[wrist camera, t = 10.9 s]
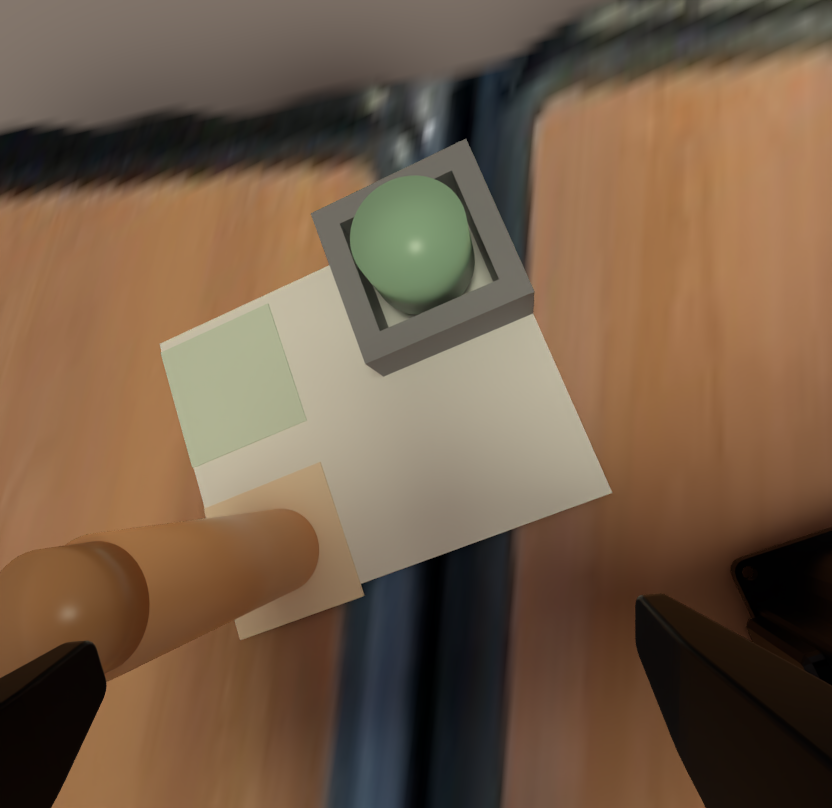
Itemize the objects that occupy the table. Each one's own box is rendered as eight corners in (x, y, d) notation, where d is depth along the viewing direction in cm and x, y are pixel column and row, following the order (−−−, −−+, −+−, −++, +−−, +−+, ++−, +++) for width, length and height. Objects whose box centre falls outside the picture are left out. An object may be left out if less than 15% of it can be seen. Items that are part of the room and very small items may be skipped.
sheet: (473, 180, 23) (465, 138, 20) (616, 504, 20) (631, 509, 17) (158, 327, 26) (112, 309, 23) (244, 637, 23) (204, 661, 20)
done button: (452, 198, 22) (441, 155, 19) (491, 288, 21) (485, 258, 18) (359, 241, 22) (334, 206, 19) (393, 330, 22) (372, 308, 19)
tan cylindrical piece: (304, 496, 23) (87, 517, 11) (329, 577, 22) (124, 681, 11) (234, 525, 23) (-39, 570, 12) (256, 604, 22) (-12, 731, 11)
